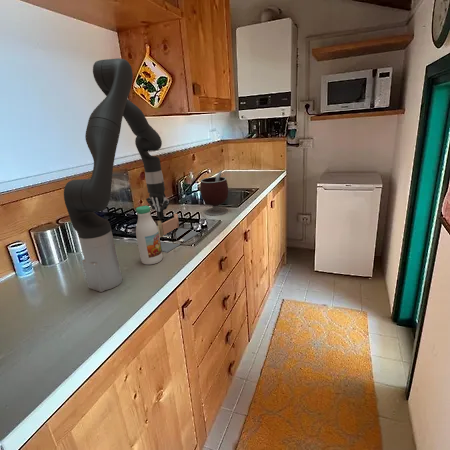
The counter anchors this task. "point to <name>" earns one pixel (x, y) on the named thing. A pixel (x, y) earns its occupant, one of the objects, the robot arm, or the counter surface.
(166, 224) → the fence gate
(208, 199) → the mate gourd
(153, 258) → the milk bottle
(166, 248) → the card
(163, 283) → the counter surface
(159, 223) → the fence fixed
